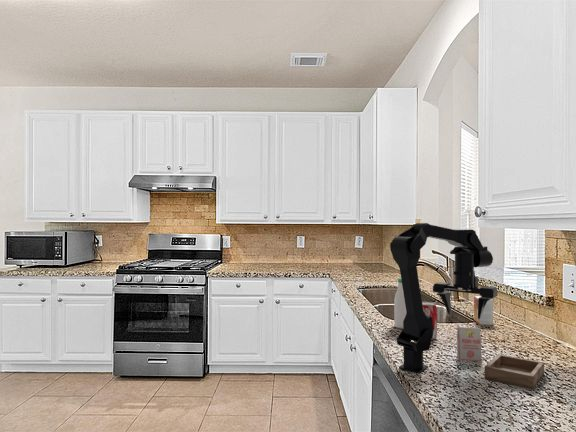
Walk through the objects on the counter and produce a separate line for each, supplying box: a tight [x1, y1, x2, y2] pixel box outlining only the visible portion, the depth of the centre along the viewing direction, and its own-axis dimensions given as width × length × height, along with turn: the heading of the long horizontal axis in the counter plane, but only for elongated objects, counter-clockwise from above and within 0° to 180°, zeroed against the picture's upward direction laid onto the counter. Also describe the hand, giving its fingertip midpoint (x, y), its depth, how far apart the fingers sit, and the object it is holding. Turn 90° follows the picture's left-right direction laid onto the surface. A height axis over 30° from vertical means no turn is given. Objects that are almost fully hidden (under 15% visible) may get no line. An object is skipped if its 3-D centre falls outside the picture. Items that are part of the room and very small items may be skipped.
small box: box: [473, 295, 494, 326], centre depth 185 cm, size 8×6×10 cm
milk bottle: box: [393, 277, 406, 330], centre depth 179 cm, size 8×8×20 cm
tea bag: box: [456, 326, 483, 363], centre depth 138 cm, size 4×7×10 cm, turn 75°
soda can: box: [422, 301, 438, 341], centre depth 162 cm, size 7×7×13 cm
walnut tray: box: [483, 353, 545, 391], centre depth 122 cm, size 14×12×4 cm
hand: (464, 316), depth 140 cm, fingers open, 9 cm apart
